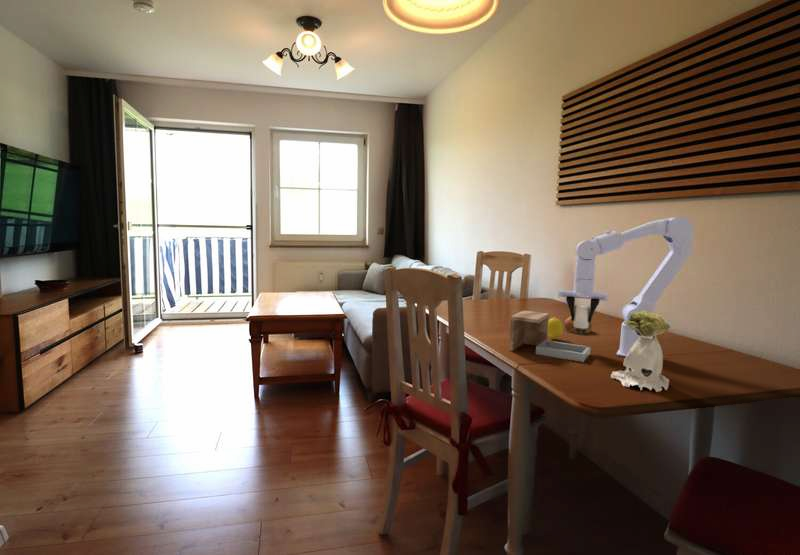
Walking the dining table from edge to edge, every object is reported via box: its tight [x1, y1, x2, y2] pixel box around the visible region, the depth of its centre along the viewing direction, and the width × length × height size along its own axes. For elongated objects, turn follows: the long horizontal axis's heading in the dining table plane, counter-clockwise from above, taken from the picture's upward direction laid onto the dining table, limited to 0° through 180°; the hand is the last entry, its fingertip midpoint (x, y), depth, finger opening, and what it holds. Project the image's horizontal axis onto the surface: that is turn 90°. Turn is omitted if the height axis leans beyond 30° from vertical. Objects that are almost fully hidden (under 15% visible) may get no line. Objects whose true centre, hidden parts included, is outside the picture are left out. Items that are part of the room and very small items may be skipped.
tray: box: [535, 339, 591, 363], centre depth 138 cm, size 14×10×2 cm
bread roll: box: [563, 316, 593, 335], centre depth 172 cm, size 10×10×8 cm
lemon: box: [548, 316, 564, 340], centre depth 157 cm, size 6×6×8 cm
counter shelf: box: [509, 310, 550, 352], centre depth 144 cm, size 8×12×11 cm
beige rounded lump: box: [573, 305, 590, 328], centre depth 143 cm, size 4×4×6 cm
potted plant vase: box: [610, 311, 671, 393], centre depth 113 cm, size 12×13×18 cm
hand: (581, 321), depth 143 cm, fingers closed on beige rounded lump, 4 cm apart
